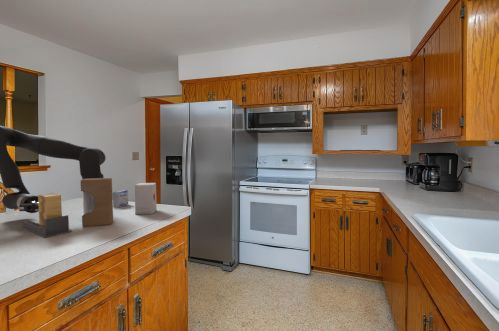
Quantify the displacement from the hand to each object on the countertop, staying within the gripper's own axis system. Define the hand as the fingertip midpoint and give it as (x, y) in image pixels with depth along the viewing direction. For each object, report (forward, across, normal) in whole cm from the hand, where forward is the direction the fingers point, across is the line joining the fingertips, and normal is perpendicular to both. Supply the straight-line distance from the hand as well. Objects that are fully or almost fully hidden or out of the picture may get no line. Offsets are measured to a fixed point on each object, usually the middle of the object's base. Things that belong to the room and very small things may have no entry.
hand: (45, 208), depth 110 cm
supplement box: (+7, +42, +9) cm, 43 cm away
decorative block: (+9, +16, +9) cm, 21 cm away
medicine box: (-20, +43, +9) cm, 49 cm away
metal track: (-1, 0, +9) cm, 9 cm away
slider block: (+4, 0, +8) cm, 9 cm away
